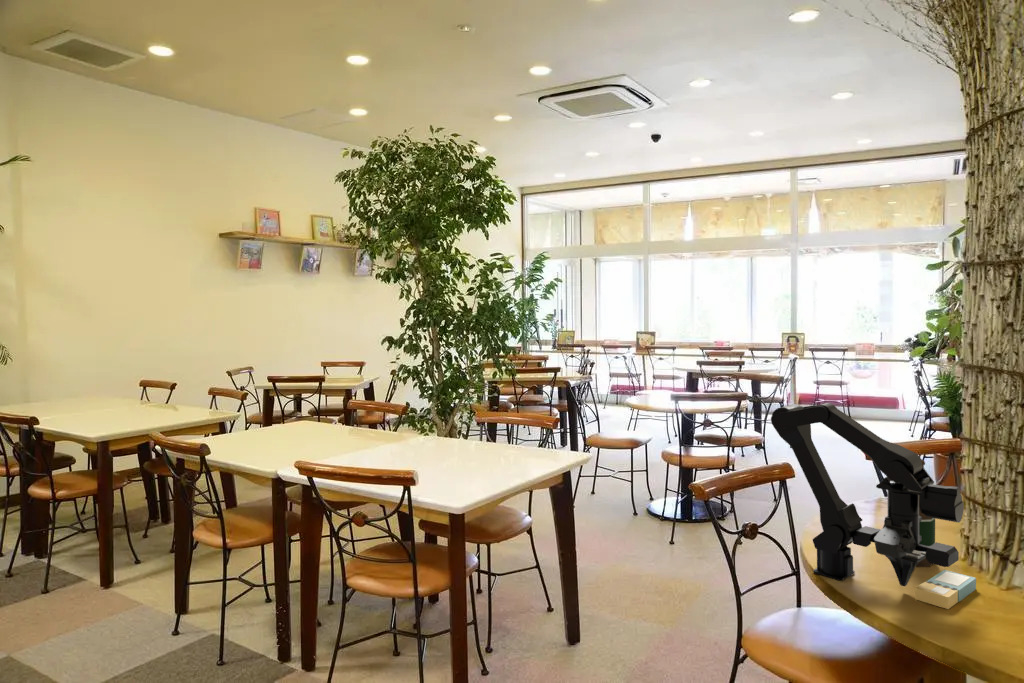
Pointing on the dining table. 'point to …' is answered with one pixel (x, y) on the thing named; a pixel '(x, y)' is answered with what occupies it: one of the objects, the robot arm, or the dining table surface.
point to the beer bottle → (926, 532)
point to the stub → (936, 595)
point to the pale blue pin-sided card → (955, 582)
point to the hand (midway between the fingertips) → (903, 585)
